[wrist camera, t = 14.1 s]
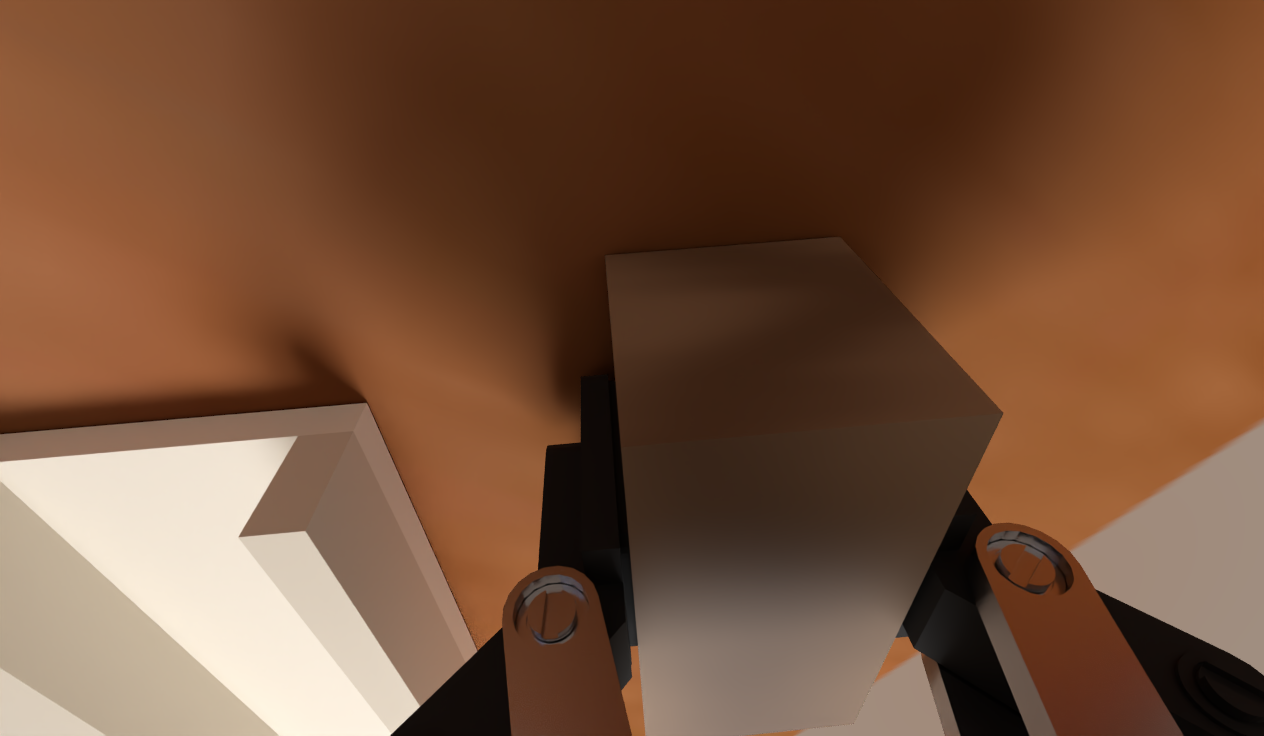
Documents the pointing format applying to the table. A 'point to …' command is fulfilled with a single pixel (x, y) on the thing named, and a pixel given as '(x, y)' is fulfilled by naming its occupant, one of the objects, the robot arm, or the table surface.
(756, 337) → the walnut bar
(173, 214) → the table surface
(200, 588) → the slot board
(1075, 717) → the robot arm
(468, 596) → the table surface
